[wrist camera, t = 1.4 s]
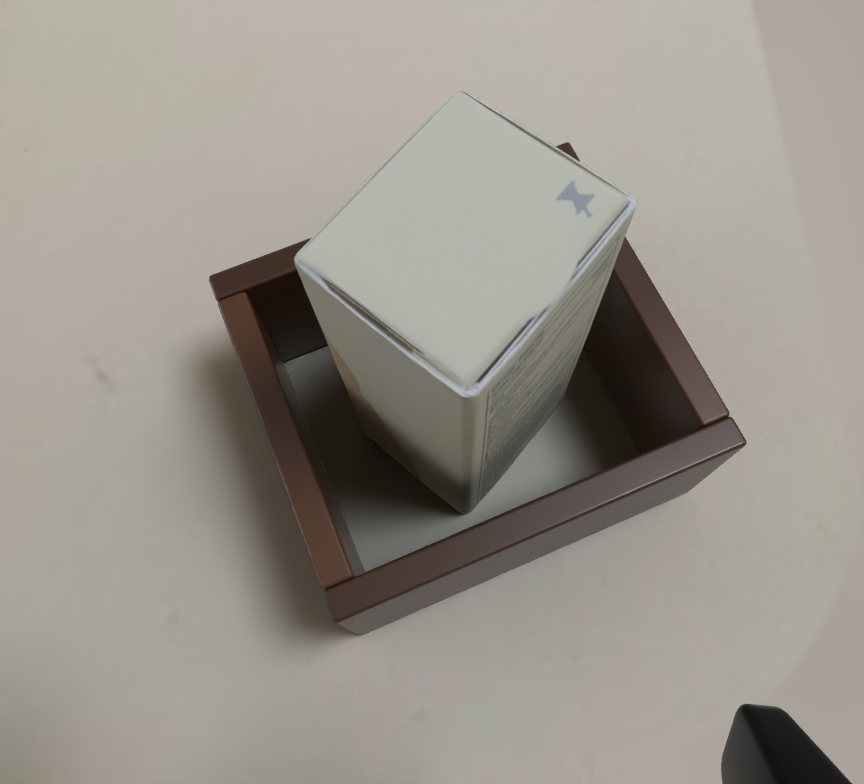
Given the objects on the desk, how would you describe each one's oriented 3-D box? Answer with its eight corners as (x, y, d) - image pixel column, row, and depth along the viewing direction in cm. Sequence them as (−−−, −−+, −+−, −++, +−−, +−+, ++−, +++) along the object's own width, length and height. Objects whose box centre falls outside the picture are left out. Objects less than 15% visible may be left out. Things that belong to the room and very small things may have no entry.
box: (462, 319, 26) (470, 70, 15) (569, 398, 25) (655, 189, 14) (354, 438, 24) (281, 254, 14) (462, 527, 23) (471, 401, 13)
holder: (690, 491, 23) (749, 443, 19) (359, 636, 22) (333, 624, 17) (548, 235, 27) (568, 139, 22) (252, 350, 25) (206, 275, 21)
